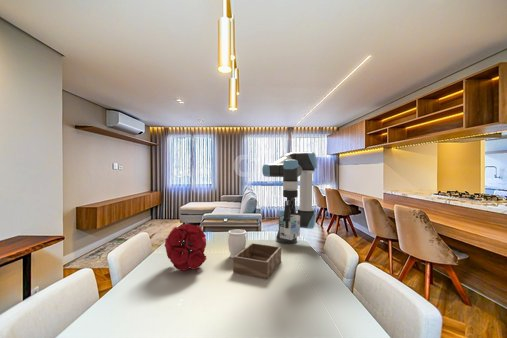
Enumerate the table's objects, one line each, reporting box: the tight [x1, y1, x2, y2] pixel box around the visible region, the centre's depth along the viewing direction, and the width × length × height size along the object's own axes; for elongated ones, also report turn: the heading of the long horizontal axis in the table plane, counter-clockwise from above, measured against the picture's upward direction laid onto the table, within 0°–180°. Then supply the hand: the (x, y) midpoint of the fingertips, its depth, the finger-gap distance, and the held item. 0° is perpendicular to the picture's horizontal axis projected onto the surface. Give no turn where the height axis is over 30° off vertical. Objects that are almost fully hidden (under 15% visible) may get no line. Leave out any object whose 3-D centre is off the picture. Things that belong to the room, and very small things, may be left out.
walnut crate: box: [232, 242, 282, 280], centre depth 125 cm, size 24×18×8 cm
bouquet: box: [164, 223, 207, 271], centre depth 126 cm, size 22×24×30 cm
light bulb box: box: [280, 214, 301, 240], centre depth 122 cm, size 11×7×11 cm, turn 144°
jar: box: [227, 229, 247, 259], centre depth 139 cm, size 11×10×15 cm
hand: (289, 231), depth 122 cm, fingers closed on light bulb box, 11 cm apart
